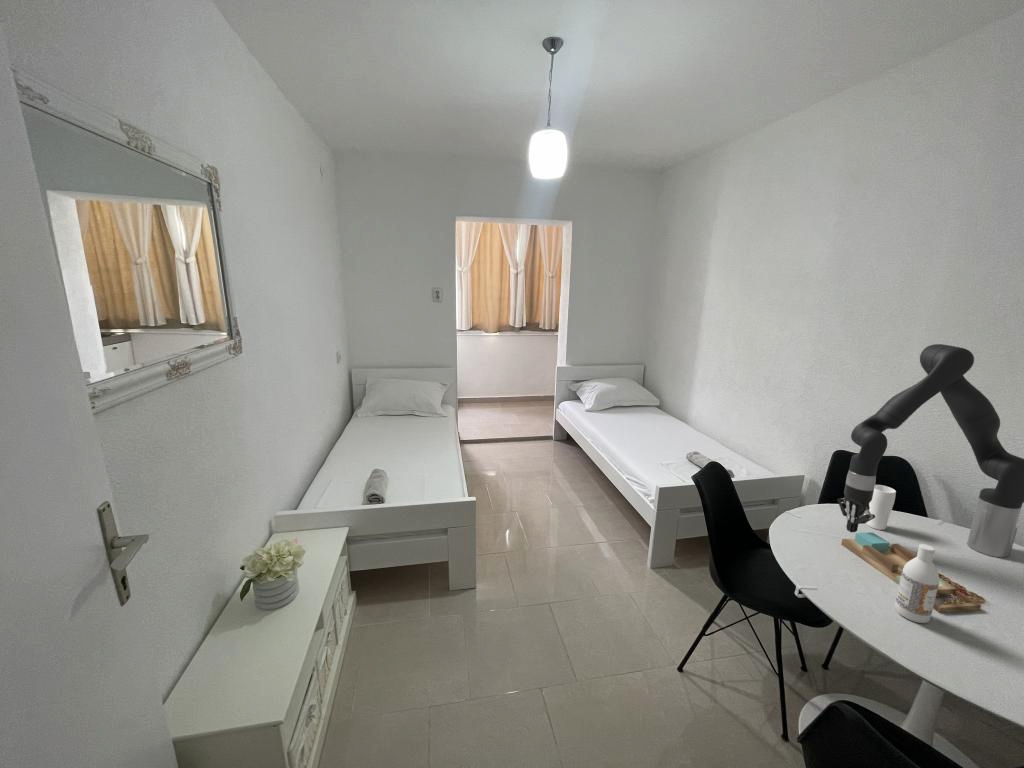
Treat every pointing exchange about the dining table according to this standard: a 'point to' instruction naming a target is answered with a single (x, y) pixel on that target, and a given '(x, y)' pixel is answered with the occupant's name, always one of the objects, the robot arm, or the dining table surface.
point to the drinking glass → (881, 506)
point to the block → (872, 541)
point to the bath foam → (918, 586)
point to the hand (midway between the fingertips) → (851, 531)
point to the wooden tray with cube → (892, 568)
